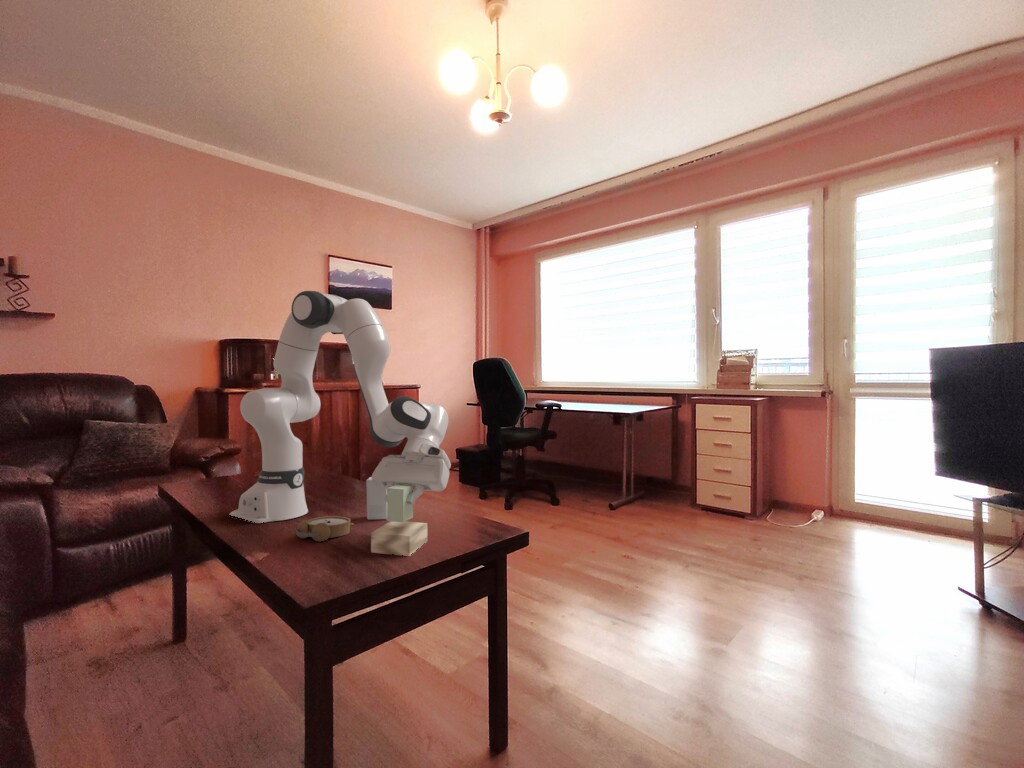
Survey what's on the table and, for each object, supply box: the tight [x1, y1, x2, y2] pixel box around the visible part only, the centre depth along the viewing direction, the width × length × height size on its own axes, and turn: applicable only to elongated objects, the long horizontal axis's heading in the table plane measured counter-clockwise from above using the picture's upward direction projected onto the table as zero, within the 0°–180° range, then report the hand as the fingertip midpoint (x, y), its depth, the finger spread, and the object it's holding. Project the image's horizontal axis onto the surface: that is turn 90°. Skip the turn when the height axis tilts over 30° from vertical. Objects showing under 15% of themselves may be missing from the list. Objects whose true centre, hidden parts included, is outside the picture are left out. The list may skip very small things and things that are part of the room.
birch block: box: [370, 520, 428, 557], centre depth 110 cm, size 10×10×5 cm
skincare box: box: [365, 476, 387, 521], centre depth 134 cm, size 6×4×12 cm
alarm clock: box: [294, 515, 355, 543], centre depth 118 cm, size 11×5×15 cm
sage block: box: [386, 484, 414, 523], centre depth 110 cm, size 4×4×8 cm
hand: (399, 502), depth 109 cm, fingers closed on sage block, 4 cm apart
